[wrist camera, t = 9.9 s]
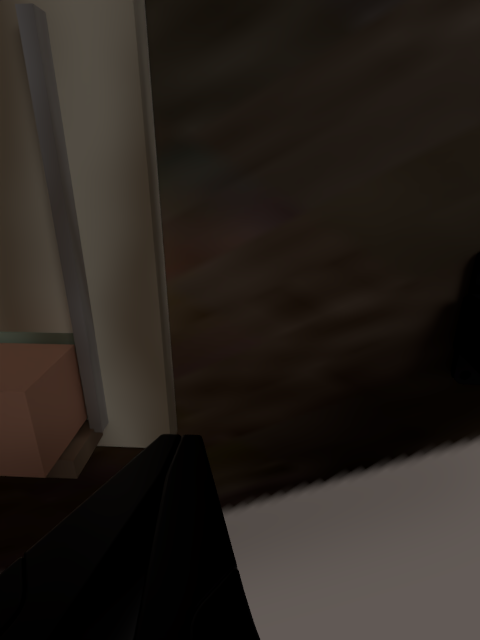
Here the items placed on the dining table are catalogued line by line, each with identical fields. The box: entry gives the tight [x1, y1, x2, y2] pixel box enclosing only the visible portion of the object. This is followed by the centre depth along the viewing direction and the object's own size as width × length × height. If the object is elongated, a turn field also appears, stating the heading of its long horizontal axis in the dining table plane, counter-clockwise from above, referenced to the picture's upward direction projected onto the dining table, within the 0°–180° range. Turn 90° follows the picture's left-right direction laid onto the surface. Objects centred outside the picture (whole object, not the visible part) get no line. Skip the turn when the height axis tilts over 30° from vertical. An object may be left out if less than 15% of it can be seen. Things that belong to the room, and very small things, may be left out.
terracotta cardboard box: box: [0, 343, 87, 478], centre depth 17 cm, size 4×4×4 cm
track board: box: [0, 0, 177, 479], centre depth 16 cm, size 12×20×4 cm, turn 0°
